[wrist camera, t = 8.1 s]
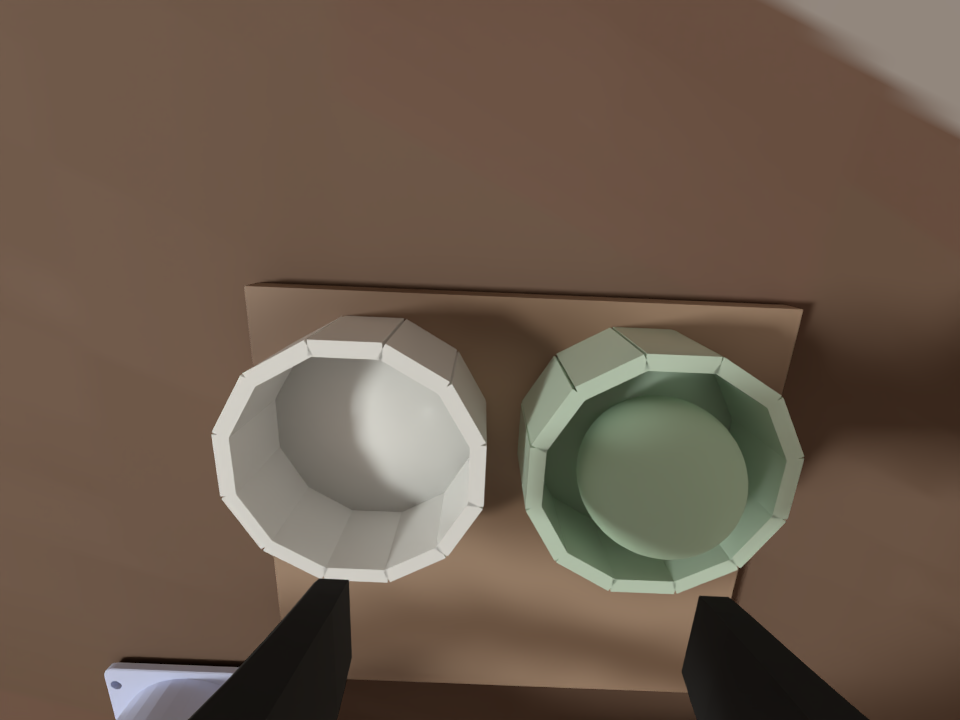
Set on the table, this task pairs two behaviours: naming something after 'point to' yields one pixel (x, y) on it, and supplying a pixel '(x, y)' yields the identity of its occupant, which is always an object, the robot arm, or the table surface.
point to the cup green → (638, 372)
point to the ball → (662, 477)
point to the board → (517, 497)
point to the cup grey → (355, 450)
